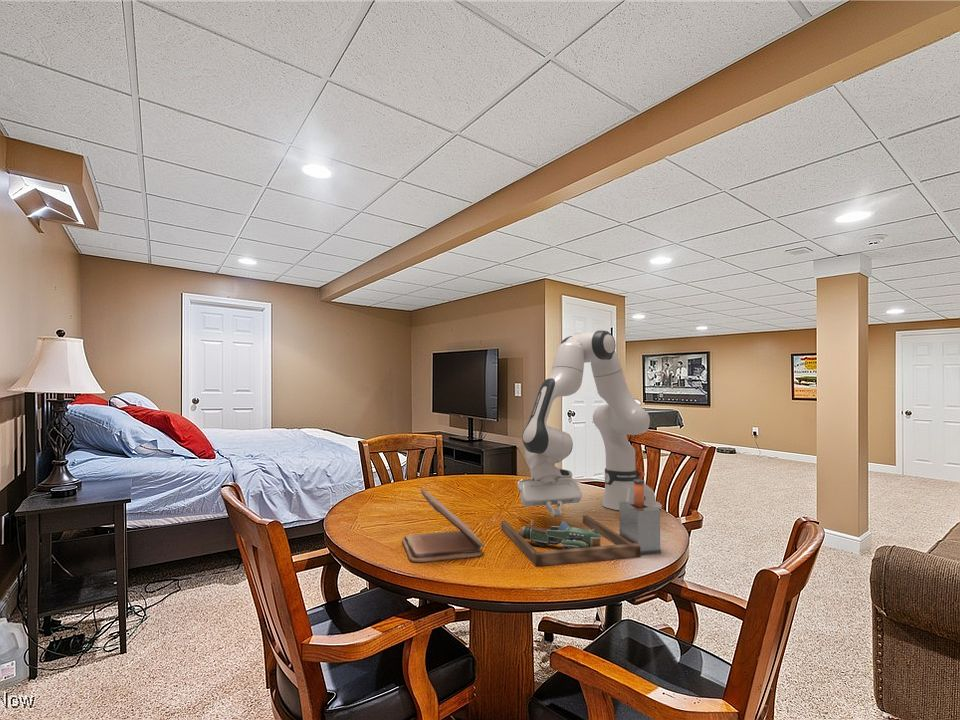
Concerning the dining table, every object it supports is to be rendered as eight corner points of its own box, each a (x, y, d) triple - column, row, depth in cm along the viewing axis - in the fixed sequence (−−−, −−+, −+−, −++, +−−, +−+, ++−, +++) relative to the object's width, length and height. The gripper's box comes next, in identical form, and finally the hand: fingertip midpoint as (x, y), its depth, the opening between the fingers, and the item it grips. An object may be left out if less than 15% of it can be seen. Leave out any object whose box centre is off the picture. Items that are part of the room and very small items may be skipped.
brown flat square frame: (586, 522, 164) (586, 513, 165) (640, 556, 133) (640, 545, 133) (501, 528, 157) (501, 519, 157) (536, 566, 126) (536, 554, 126)
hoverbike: (598, 561, 130) (598, 530, 130) (512, 547, 140) (512, 518, 141) (605, 550, 139) (605, 520, 139) (523, 537, 149) (523, 510, 149)
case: (486, 557, 132) (487, 498, 133) (410, 565, 126) (411, 503, 127) (467, 535, 152) (468, 483, 153) (400, 540, 146) (401, 487, 147)
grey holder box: (640, 541, 146) (640, 500, 146) (660, 552, 136) (660, 509, 137) (619, 542, 144) (618, 502, 145) (638, 554, 134) (637, 511, 135)
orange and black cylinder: (640, 504, 143) (640, 479, 143) (647, 507, 139) (646, 481, 140) (631, 505, 142) (630, 479, 142) (637, 508, 139) (637, 481, 139)
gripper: (517, 474, 157) (528, 512, 147) (575, 471, 162) (589, 507, 152) (513, 485, 161) (523, 523, 152) (570, 481, 166) (583, 518, 156)
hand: (557, 515), depth 152 cm, fingers closed
